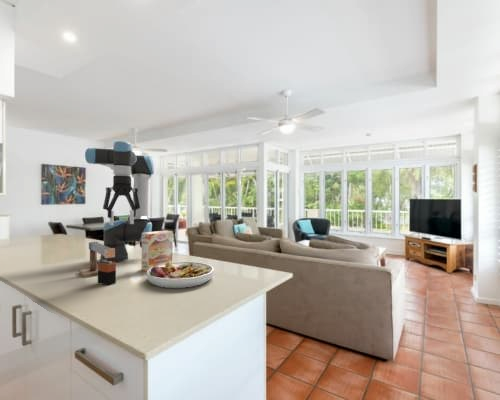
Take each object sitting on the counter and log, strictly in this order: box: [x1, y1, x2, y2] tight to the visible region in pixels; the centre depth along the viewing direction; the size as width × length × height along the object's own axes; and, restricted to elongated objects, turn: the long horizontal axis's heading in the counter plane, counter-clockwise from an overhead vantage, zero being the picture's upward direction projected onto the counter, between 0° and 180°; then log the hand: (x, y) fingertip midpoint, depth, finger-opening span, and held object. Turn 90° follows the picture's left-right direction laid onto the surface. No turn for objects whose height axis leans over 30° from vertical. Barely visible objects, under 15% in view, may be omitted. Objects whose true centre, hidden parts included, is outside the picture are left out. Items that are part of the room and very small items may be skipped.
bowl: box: [146, 261, 215, 289], centre depth 129 cm, size 30×30×8 cm
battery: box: [97, 260, 117, 286], centre depth 122 cm, size 4×7×10 cm, turn 63°
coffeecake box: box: [140, 230, 174, 272], centre depth 148 cm, size 15×7×20 cm, turn 143°
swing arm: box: [88, 241, 115, 258], centre depth 128 cm, size 4×26×4 cm, turn 45°
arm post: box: [78, 249, 98, 279], centre depth 136 cm, size 10×10×12 cm
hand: (121, 224), depth 128 cm, fingers open, 8 cm apart
